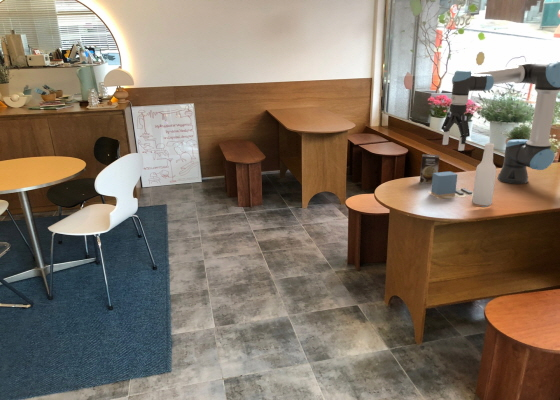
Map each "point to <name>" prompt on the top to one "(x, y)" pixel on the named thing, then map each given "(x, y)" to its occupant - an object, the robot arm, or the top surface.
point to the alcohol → (485, 178)
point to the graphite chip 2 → (466, 191)
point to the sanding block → (444, 184)
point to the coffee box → (428, 167)
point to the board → (455, 195)
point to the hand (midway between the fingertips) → (452, 147)
